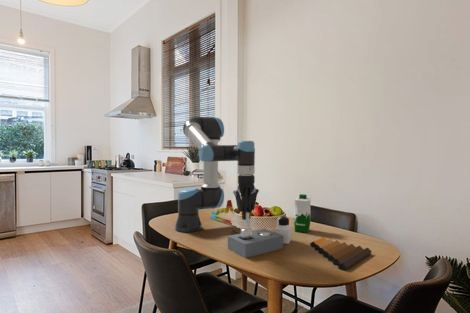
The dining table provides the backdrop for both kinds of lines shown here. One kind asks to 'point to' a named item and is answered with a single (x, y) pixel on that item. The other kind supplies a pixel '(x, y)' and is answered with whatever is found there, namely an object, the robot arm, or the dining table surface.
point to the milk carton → (302, 213)
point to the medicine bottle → (284, 229)
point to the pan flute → (340, 252)
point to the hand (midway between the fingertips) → (246, 226)
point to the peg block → (255, 243)
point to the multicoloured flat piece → (226, 210)
